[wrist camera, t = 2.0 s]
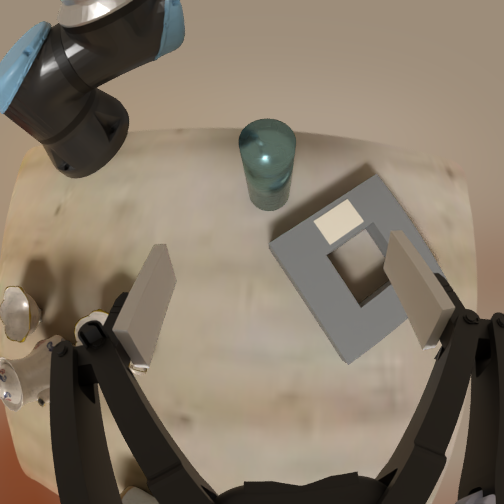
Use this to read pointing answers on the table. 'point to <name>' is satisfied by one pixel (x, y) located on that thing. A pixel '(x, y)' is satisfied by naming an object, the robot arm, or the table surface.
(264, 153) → the teal cylinder
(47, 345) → the chinaware
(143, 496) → the ceramic mug
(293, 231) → the socket block
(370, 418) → the table surface
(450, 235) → the table surface
